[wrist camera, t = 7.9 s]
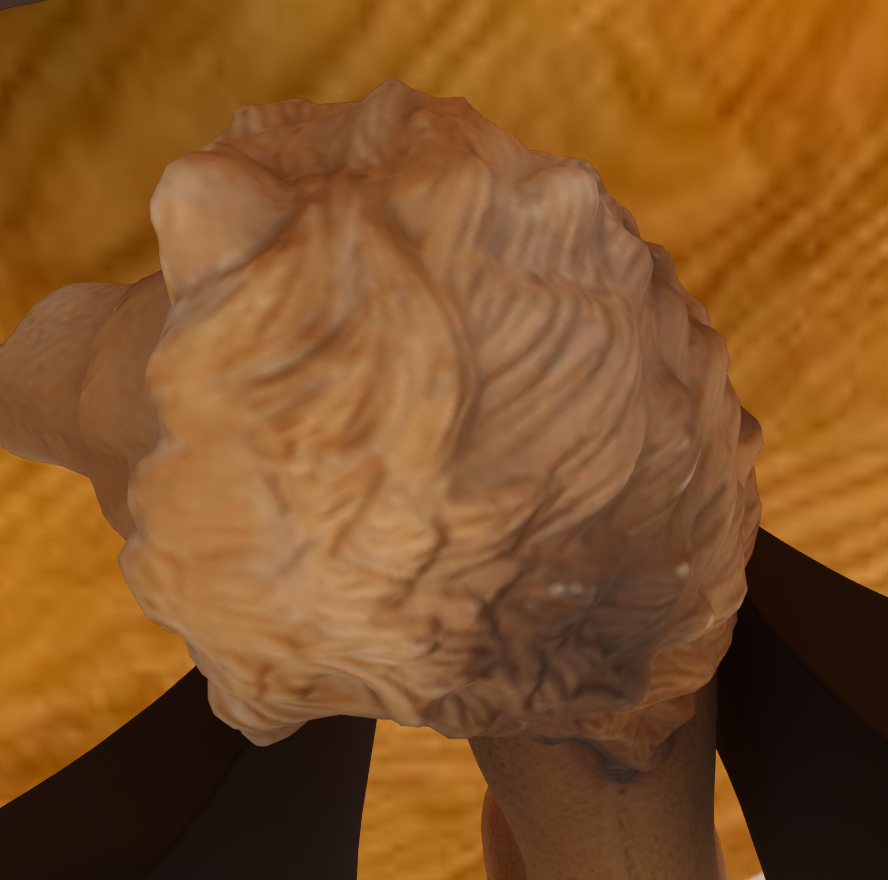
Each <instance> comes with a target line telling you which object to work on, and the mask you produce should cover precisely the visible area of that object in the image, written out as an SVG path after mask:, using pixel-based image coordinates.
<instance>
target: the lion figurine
mask: <svg viewBox="0 0 888 880" xmlns="http://www.w3.org/2000/svg"><path fill="white" fill-rule="evenodd" d="M233 119H234V120H233V123H232V125H231V126H230V127H228V128H227V129H226V130H224V131H223V132H222V133H221V134H219V135H218V136H217V137H215V139H214V140H213V142H212V143H210V144H208V145H206V146H205V148H204V149H203V150H202V151H197V152H189V153H187V154H185V155H183V156H182V157H180V158H178V159H176V160H174V161H173V162H171V163H169V164H168V165H167V167H166V169H165V171H164V173H163V175H162V177H161V179H160V181H159V183H158V186H157V188H156V190H155V192H154V194H153V196H152V198H151V200H150V220H151V222H152V225H153V228H154V230H155V233H156V235H157V238H158V244H159V255H160V266H161V269H162V270H161V271H159V272H156V273H154V274H152V275H150V276H147V277H145V278H143V279H141V280H139V281H138V282H136V283H135V284H132V285H124V284H114V283H104V282H86V283H74V284H69V285H67V286H64V287H62V288H60V289H57V290H55V291H53V292H51V293H50V294H49V295H48V296H46V297H45V298H44V299H42V300H41V301H40V302H38V303H37V304H36V305H35V306H33V307H32V309H31V310H30V311H29V312H28V313H27V315H26V316H25V317H24V318H23V319H22V320H21V322H20V323H19V325H18V326H17V327H16V329H15V330H14V332H13V333H12V334H11V336H10V337H9V339H8V340H7V341H6V342H4V343H3V344H1V345H0V444H1V445H2V446H3V447H4V448H5V449H6V450H8V451H9V452H10V453H12V454H14V455H17V456H19V457H21V458H24V459H29V460H34V461H39V462H44V463H50V464H55V465H60V466H63V467H66V468H68V469H70V470H73V471H75V472H78V473H80V474H82V475H85V476H87V477H89V478H90V480H91V482H92V484H93V486H94V489H95V492H96V495H97V498H98V501H99V504H100V507H101V510H102V513H103V515H104V517H105V518H106V519H107V521H108V522H109V523H110V525H111V526H112V527H113V529H115V530H116V531H117V532H118V533H119V534H120V535H121V536H122V537H123V538H124V539H125V540H126V541H127V542H126V543H125V545H124V547H123V549H122V550H121V552H120V554H119V556H118V562H119V566H120V568H121V571H122V573H123V575H124V578H125V580H126V583H127V585H128V586H129V588H130V590H131V592H132V593H133V595H134V597H135V598H136V600H137V602H138V603H139V605H140V607H141V609H142V610H143V612H144V614H145V615H146V617H148V618H149V619H150V620H152V621H153V622H154V623H156V624H157V625H158V626H160V627H161V628H162V629H164V630H166V631H169V632H171V633H174V634H176V635H178V636H181V637H183V638H184V639H185V641H186V645H187V648H188V651H189V655H190V657H191V658H192V660H193V661H194V663H195V664H196V666H197V667H198V669H199V670H200V672H201V674H203V675H204V676H205V677H207V678H208V701H209V703H210V706H211V708H212V710H213V713H214V715H216V716H217V717H218V718H219V719H221V720H222V721H223V722H225V723H226V724H228V725H229V726H230V727H232V728H234V729H238V730H241V732H242V734H243V735H244V736H245V737H246V738H248V739H249V740H250V741H251V742H252V743H254V744H255V745H257V746H268V745H270V744H273V743H275V742H277V741H280V740H282V739H285V738H287V737H288V736H290V735H291V734H293V733H294V732H296V731H297V730H298V729H299V728H300V727H301V726H303V725H304V724H305V723H306V722H307V721H308V720H311V719H317V718H323V717H328V716H334V715H340V714H342V715H350V716H358V717H367V718H375V719H386V720H393V721H395V722H397V723H399V724H400V725H401V726H409V727H421V726H427V727H431V728H432V729H434V730H436V731H437V732H439V733H441V734H442V735H444V736H446V737H447V738H449V739H468V741H469V744H470V746H471V749H472V751H473V754H474V756H475V758H476V761H477V763H478V766H479V768H480V770H481V772H482V774H483V776H484V778H485V780H486V782H487V784H488V788H487V790H486V793H485V798H484V803H483V810H482V822H481V832H482V842H483V853H484V862H485V868H486V874H487V879H488V880H728V879H727V872H726V865H725V861H724V857H723V853H722V849H721V845H720V841H719V836H718V833H717V831H716V828H715V825H714V783H715V763H716V725H717V671H716V669H717V667H718V665H719V663H720V661H721V660H722V658H723V657H724V655H725V654H726V652H727V650H728V648H729V646H730V644H731V641H732V632H733V629H734V627H735V625H736V623H737V610H738V609H739V608H740V606H741V604H742V602H743V599H744V597H745V594H746V592H747V590H748V589H747V583H746V576H745V567H746V565H747V563H748V561H749V559H750V557H751V555H752V553H753V549H754V544H755V540H756V536H757V532H758V527H759V523H760V519H761V509H762V505H761V501H760V498H759V495H758V491H757V484H756V475H755V468H754V465H753V464H754V462H755V460H756V458H757V456H758V454H759V452H760V450H761V448H762V446H763V443H764V442H763V436H762V430H761V426H760V424H759V422H758V421H757V420H756V419H755V418H754V417H753V416H752V415H751V414H750V413H749V412H748V411H746V410H745V409H744V408H743V407H742V406H741V404H740V401H739V398H738V396H737V394H736V392H735V391H734V389H733V387H732V385H731V383H730V380H729V377H728V375H727V370H728V363H729V353H728V350H727V346H726V342H725V339H724V338H723V337H722V336H721V335H720V334H719V333H718V332H717V331H716V330H715V329H713V328H711V321H710V318H709V316H708V313H707V310H706V308H705V306H704V305H703V304H702V303H701V302H700V301H699V300H697V299H696V298H694V297H693V296H692V295H690V294H689V293H688V292H687V291H686V290H685V289H684V287H683V286H682V284H681V283H680V281H679V280H678V278H677V277H676V275H675V273H674V263H673V260H672V257H671V255H670V254H669V252H668V251H667V250H666V249H665V248H664V247H663V246H662V245H658V244H654V243H650V242H646V241H643V240H642V239H641V237H640V234H639V231H638V227H637V224H636V221H635V219H634V217H633V216H632V214H631V213H630V211H628V210H627V209H626V208H625V207H623V206H622V205H621V204H619V203H618V202H617V201H616V200H614V199H613V198H612V197H611V196H609V194H608V193H607V191H606V189H605V187H604V184H603V182H602V180H601V178H600V176H599V174H598V172H597V171H596V169H595V168H594V167H593V166H592V165H591V164H589V163H588V162H587V161H586V160H585V159H579V158H572V157H560V156H555V155H552V154H549V153H547V152H542V151H535V150H529V149H528V148H527V147H526V146H525V145H524V144H523V143H522V142H521V141H520V140H519V139H517V138H516V137H514V136H512V135H511V134H509V133H508V132H506V131H505V130H503V129H501V128H500V127H498V126H497V125H495V124H494V123H492V122H491V121H489V120H487V119H486V118H484V117H483V116H482V115H481V114H480V113H479V112H477V111H476V110H475V109H474V108H473V107H472V106H471V105H470V104H469V103H468V101H467V100H466V99H465V98H464V97H455V98H435V97H432V96H430V95H427V94H425V93H422V92H420V91H417V90H415V89H412V88H410V87H409V86H407V85H406V84H404V83H403V82H401V81H399V80H398V79H396V78H390V79H387V80H385V81H384V82H383V83H382V84H380V85H379V86H378V87H377V88H376V89H374V90H373V91H372V92H371V93H370V94H369V95H368V96H367V97H366V98H364V99H363V100H362V101H361V102H344V103H330V104H315V103H313V102H312V101H310V100H308V99H301V98H291V99H288V100H284V101H280V102H276V103H272V104H262V105H252V104H245V105H243V106H242V107H240V108H238V109H236V110H234V111H233Z"/></svg>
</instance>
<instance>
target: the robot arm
mask: <svg viewBox="0 0 888 880" xmlns="http://www.w3.org/2000/svg"><path fill="white" fill-rule="evenodd" d="M745 576H746V583H747V589H748V590H747V592H746V594H745V597H744V599H743V602H742V604H741V606H740V608H739V609H738V610H737V623H736V625H735V627H734V629H733V632H732V641H731V644H730V646H729V648H728V650H727V652H726V654H725V655H724V657H723V658H722V660H721V661H720V663H719V665H718V667H717V669H716V671H717V725H716V749H717V751H718V754H719V756H720V758H721V760H722V762H723V765H724V767H725V769H726V771H727V773H728V776H729V778H730V781H731V783H732V786H733V788H734V791H735V793H736V796H737V798H738V800H739V803H740V806H741V809H742V812H743V814H744V817H745V820H746V823H747V826H748V829H749V832H750V835H751V838H752V841H753V844H754V847H755V850H756V853H757V856H758V859H759V861H760V864H761V867H762V870H763V873H764V876H765V879H766V880H888V597H886V596H884V595H882V594H879V593H877V592H875V591H873V590H871V589H869V588H867V587H864V586H862V585H860V584H858V583H856V582H854V581H852V580H850V579H848V578H846V577H844V576H842V575H840V574H839V573H837V572H835V571H833V570H831V569H830V568H828V567H826V566H824V565H822V564H821V563H819V562H817V561H815V560H814V559H812V558H810V557H808V556H806V555H805V554H803V553H801V552H799V551H798V550H796V549H794V548H793V547H791V546H789V545H788V544H786V543H785V542H783V541H781V540H780V539H778V538H776V537H775V536H773V535H772V534H770V533H769V532H767V531H765V530H764V529H762V528H761V527H758V532H757V536H756V540H755V544H754V549H753V553H752V555H751V557H750V559H749V561H748V563H747V565H746V567H745ZM376 722H377V719H375V718H367V717H358V716H350V715H342V714H340V715H334V716H328V717H323V718H317V719H311V720H308V721H307V722H306V723H305V724H304V725H303V726H301V727H300V728H299V729H298V730H297V731H296V732H294V733H293V734H291V735H290V736H288V737H287V738H285V739H282V740H280V741H277V742H275V743H273V744H270V745H268V746H257V745H255V744H254V743H252V742H251V741H250V740H249V739H248V738H246V737H245V736H244V735H243V734H242V732H241V730H238V729H234V728H232V727H230V726H229V725H228V724H226V723H225V722H223V721H222V720H221V719H219V718H218V717H217V716H216V715H214V713H213V710H212V708H211V706H210V703H209V701H208V678H207V677H205V676H204V675H203V674H201V672H200V670H199V669H198V667H197V666H195V667H194V668H193V669H192V670H191V671H190V672H189V673H187V674H186V675H185V676H184V677H183V678H182V679H180V680H179V681H178V682H177V683H176V684H175V685H174V686H172V687H171V688H170V689H169V690H168V691H167V692H165V693H164V694H163V695H162V696H161V697H160V698H158V699H157V700H156V701H155V702H154V703H152V704H151V705H150V706H148V707H147V708H146V709H145V710H143V711H142V712H141V713H139V714H138V715H137V716H135V717H134V718H133V719H131V720H130V721H129V722H127V723H126V724H125V725H123V726H122V727H121V728H119V729H118V730H117V731H115V732H114V733H113V734H111V735H110V736H109V737H107V738H106V739H105V740H104V741H102V742H101V743H100V744H98V745H97V746H95V747H94V748H93V749H91V750H90V751H88V752H87V753H85V754H84V755H82V756H81V757H80V758H78V759H77V760H75V761H74V762H72V763H71V764H69V765H68V766H66V767H65V768H63V769H62V770H60V771H59V772H57V773H56V774H54V775H52V776H51V777H49V778H48V779H46V780H45V781H43V782H41V783H40V784H38V785H37V786H35V787H33V788H32V789H30V790H29V791H27V792H26V793H24V794H22V795H21V796H19V797H17V798H16V799H14V800H12V801H11V802H9V803H7V804H6V805H4V806H2V807H1V808H0V880H357V864H358V847H359V837H360V828H361V819H362V812H363V805H364V799H365V793H366V786H367V780H368V773H369V767H370V761H371V754H372V748H373V742H374V735H375V729H376Z"/></svg>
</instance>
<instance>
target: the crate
mask: <svg viewBox="0 0 888 880" xmlns="http://www.w3.org/2000/svg"><path fill="white" fill-rule="evenodd" d="M39 1H44V0H0V9H5V8H10V7H14V6H19V5H24V4H29V3H34V2H39Z"/></svg>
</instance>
